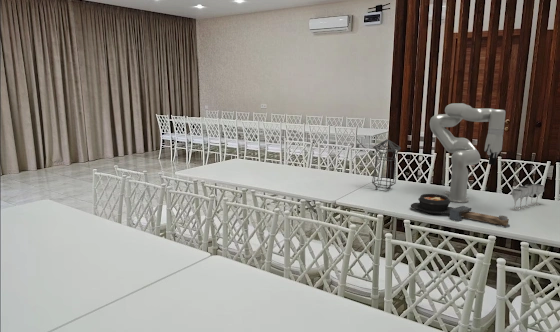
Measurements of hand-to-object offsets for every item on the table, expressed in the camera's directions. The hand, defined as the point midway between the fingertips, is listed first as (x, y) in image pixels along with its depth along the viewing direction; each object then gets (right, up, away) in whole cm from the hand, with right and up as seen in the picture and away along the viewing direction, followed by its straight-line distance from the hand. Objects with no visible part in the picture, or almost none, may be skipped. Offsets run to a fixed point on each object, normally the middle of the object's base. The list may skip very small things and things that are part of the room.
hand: (492, 164), depth 223 cm
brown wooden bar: (-12, -29, -13) cm, 34 cm away
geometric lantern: (-47, -17, +52) cm, 72 cm away
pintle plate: (-5, -31, -19) cm, 37 cm away
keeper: (-21, -29, -8) cm, 37 cm away
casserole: (-31, -27, +4) cm, 42 cm away
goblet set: (+27, -25, +13) cm, 39 cm away
